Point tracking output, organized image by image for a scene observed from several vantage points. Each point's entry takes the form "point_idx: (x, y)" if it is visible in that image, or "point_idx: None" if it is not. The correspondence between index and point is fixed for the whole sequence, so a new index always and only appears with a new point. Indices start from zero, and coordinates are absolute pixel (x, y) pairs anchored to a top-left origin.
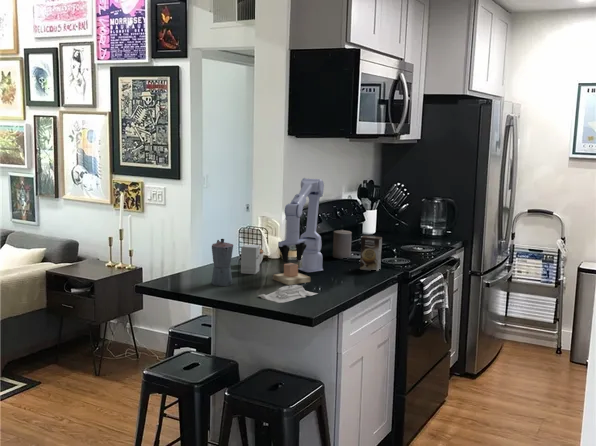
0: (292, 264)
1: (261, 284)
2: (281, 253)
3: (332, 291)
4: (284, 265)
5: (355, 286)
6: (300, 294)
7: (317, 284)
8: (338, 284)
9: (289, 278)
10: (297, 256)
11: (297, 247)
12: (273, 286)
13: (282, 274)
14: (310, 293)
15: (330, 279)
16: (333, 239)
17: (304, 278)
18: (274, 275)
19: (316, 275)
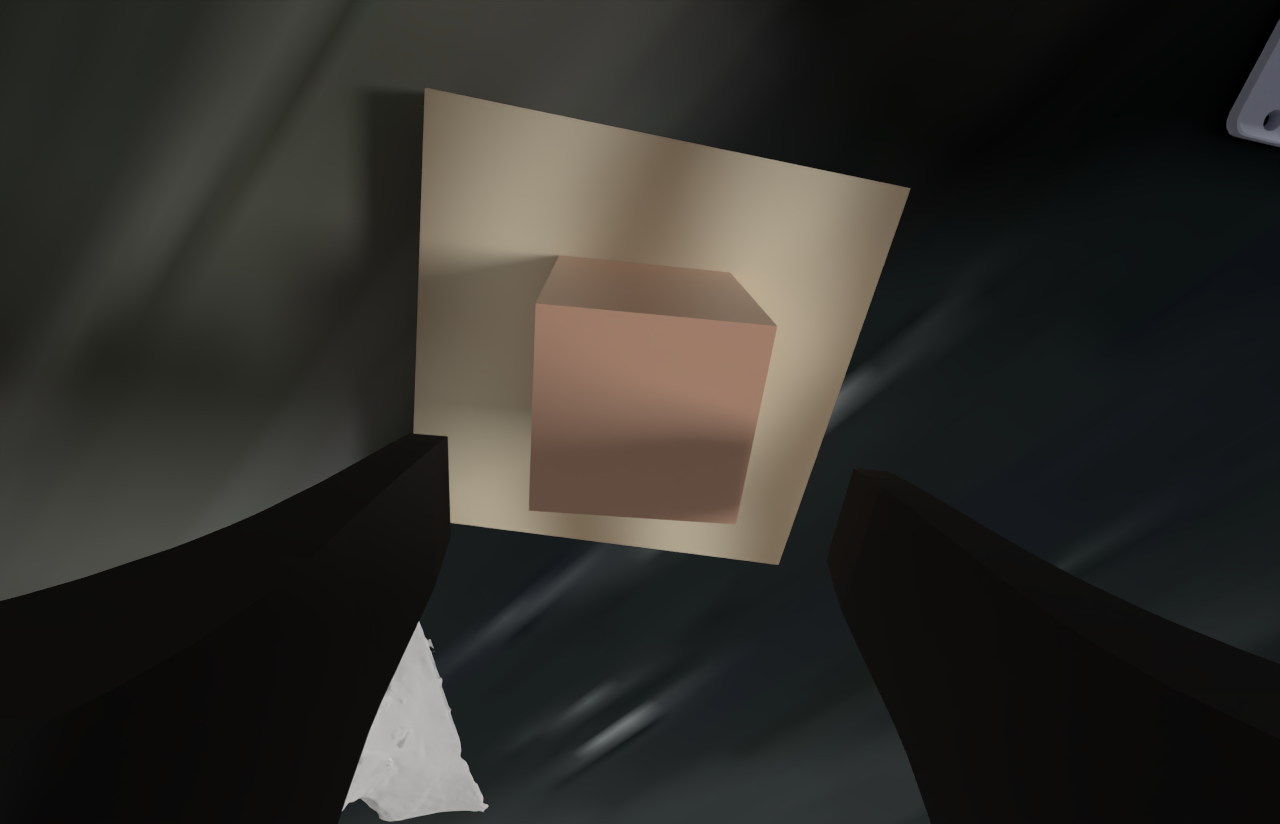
0: (670, 441)
1: (104, 237)
2: (217, 541)
3: (638, 821)
4: (538, 317)
5: (919, 818)
6: None
7: (732, 629)
8: (882, 723)
9: (489, 467)
10: (886, 532)
11: (1093, 774)
12: (225, 422)
13: (572, 205)
14: (411, 799)
15: None
16: None
17: (682, 546)
18: (426, 137)
19: (1122, 342)
